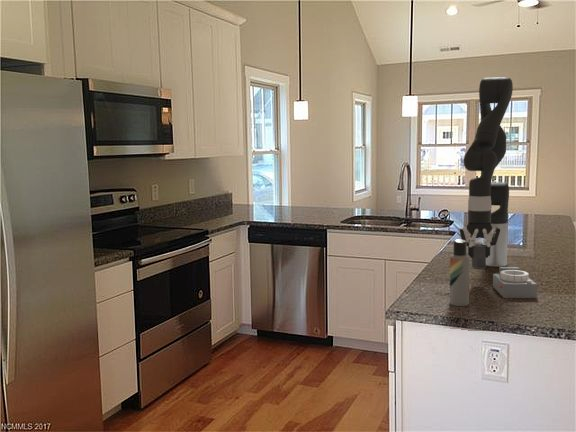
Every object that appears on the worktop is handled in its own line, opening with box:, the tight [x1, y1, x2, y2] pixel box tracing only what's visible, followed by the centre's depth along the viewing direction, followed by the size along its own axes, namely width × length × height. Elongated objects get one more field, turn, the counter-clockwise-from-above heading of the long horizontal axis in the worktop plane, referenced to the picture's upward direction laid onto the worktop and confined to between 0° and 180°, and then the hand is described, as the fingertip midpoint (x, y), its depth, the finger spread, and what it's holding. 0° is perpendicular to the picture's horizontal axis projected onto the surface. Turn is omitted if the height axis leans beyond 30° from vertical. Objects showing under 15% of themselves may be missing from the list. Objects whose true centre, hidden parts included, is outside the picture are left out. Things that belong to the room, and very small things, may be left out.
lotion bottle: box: [449, 238, 471, 307], centre depth 168 cm, size 6×6×20 cm
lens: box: [471, 243, 487, 271], centre depth 190 cm, size 5×5×8 cm
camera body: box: [492, 266, 538, 299], centre depth 180 cm, size 14×11×7 cm
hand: (478, 256), depth 190 cm, fingers closed on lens, 4 cm apart
